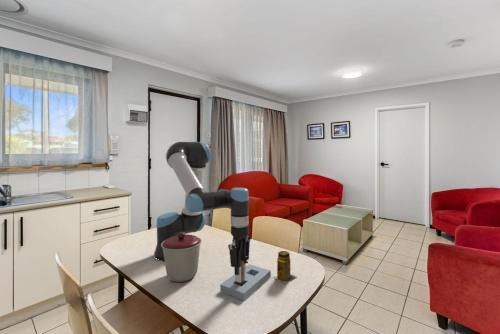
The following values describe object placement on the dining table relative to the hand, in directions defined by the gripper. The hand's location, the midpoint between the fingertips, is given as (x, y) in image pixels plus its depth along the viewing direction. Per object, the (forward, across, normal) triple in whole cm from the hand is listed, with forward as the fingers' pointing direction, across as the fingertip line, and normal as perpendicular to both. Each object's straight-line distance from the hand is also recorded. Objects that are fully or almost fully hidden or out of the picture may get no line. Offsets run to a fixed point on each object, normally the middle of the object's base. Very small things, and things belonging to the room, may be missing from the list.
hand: (240, 279), depth 104 cm
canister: (+4, -6, +29) cm, 30 cm away
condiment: (+4, +19, -12) cm, 23 cm away
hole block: (+4, +5, 0) cm, 6 cm away
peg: (+4, 0, 0) cm, 4 cm away
